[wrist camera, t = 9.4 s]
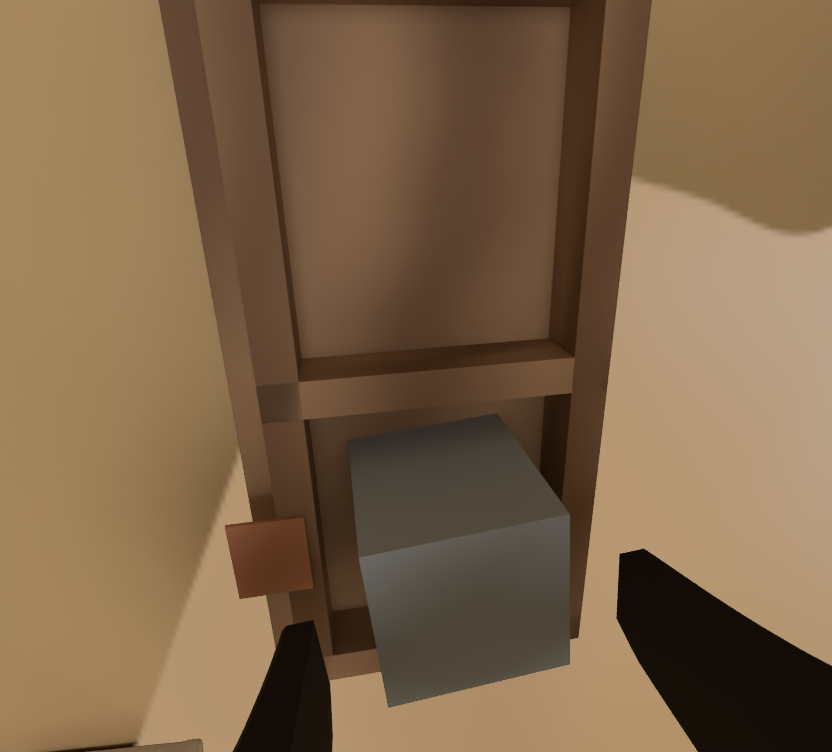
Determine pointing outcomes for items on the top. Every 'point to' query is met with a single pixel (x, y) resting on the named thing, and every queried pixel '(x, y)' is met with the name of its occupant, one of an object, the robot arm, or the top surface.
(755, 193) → the top surface
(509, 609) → the slate block
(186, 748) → the skincare box
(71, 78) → the top surface
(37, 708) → the top surface
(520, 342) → the slot rack
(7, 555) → the top surface
